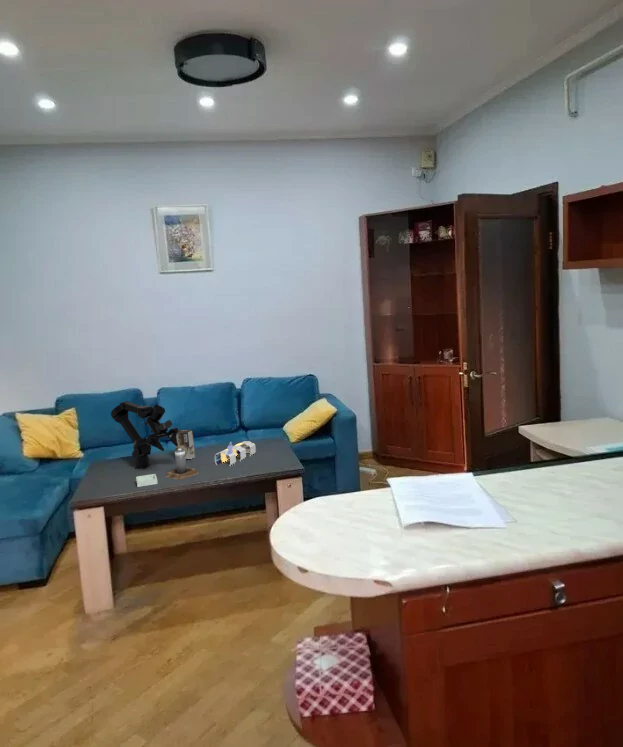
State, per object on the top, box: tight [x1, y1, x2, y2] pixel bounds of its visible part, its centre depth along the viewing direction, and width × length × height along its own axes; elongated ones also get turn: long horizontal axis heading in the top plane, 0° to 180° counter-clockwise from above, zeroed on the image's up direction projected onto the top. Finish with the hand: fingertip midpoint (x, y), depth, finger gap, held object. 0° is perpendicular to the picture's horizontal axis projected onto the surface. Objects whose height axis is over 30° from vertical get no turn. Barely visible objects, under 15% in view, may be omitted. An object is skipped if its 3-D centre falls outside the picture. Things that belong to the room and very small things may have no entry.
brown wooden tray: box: [164, 466, 200, 481], centre depth 308 cm, size 13×13×2 cm
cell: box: [174, 448, 187, 475], centre depth 307 cm, size 5×5×14 cm
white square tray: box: [135, 473, 158, 488], centre depth 298 cm, size 10×10×3 cm
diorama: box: [214, 440, 257, 467], centre depth 330 cm, size 25×10×13 cm, turn 153°
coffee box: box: [175, 429, 196, 460], centre depth 340 cm, size 9×6×16 cm
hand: (170, 448), depth 312 cm, fingers open, 9 cm apart
